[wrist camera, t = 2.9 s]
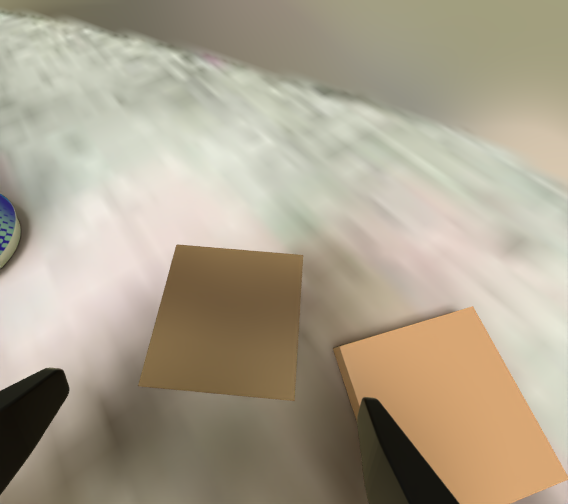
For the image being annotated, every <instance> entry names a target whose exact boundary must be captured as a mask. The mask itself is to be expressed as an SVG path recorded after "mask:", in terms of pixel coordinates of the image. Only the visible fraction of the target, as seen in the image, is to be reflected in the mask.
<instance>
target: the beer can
mask: <svg viewBox="0 0 568 504" xmlns="http://www.w3.org/2000/svg"><path fill="white" fill-rule="evenodd" d="M20 235H21V228H20V223H19V221H18V219H17V217H16V212H15V209H14V207H13V205H12V204H11V202H10V201H9V200H8V199H7V198H6V197H4V196H3V195H2V194H0V268H1V267H3V266H4V265H5V264H6V262H7V261H8V260H9V259H10V258H11V256H12V255H13V253H14V252H15V250H16V248H17V246H18V243H19V240H20Z"/></svg>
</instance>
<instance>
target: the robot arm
mask: <svg viewBox="0 0 568 504" xmlns="http://www.w3.org/2000/svg"><path fill="white" fill-rule="evenodd" d="M68 394H69V385H68V382H67V379H66V376H65V373H64V371H63V370H62V369H59V368H45V369H43V370H41V371H39V372H37V373H35V374H33V375H31V376H29V377H27V378H25V379H23V380H21V381H19V382H17V383H15V384H13V385H11V386H9V387H7V388H5V389H3V390H1V391H0V495H1V494H2V492H3V491H4V490H5V488H6V487H7V486H8V484H9V483H10V481H11V480H12V479H13V477H14V476H15V475H16V473H17V472H18V471H19V469H20V468H21V467H22V465H23V464H24V463H25V461H26V460H27V458H28V457H29V456H30V454H31V453H32V451H33V450H34V448H35V447H36V445H37V444H38V442H39V441H40V439H41V437H42V436H43V434H44V433H45V431H46V429H47V428H48V426H49V425H50V423H51V422H52V420H53V418H54V417H55V415H56V414H57V412H58V410H59V409H60V407H61V406H62V404H63V403H64V401H65V399H66V398H67V396H68ZM357 425H358V433H359V441H360V450H361V458H362V466H363V474H364V482H365V488H366V493H367V499H368V503H369V504H460V503H459V502H458V501H457V499H456V498H455V497H454V496H453V494H452V493H451V492H450V490H449V489H448V488H447V487H446V485H445V484H444V483H443V482H442V480H441V479H440V478H439V476H438V475H437V474H436V473H435V471H434V470H433V469H432V467H431V466H430V465H429V464H428V462H427V461H426V460H425V459H424V457H423V456H422V455H421V453H420V452H419V451H418V450H417V448H416V447H415V446H414V445H413V443H412V442H411V441H410V439H409V438H408V437H407V436H406V434H405V433H404V432H403V430H402V429H401V428H400V427H399V425H398V424H397V423H396V422H395V420H394V419H393V418H392V416H391V415H390V414H389V413H388V411H387V410H386V409H385V408H384V406H383V405H382V404H381V402H380V401H379V400H378V399H376V398H372V397H363V398H362V400H361V404H360V408H359V412H358V416H357Z"/></svg>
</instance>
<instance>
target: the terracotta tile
mask: <svg viewBox="0 0 568 504" xmlns="http://www.w3.org/2000/svg"><path fill="white" fill-rule="evenodd" d="M333 350H334V353H335V357H336V360H337V363H338V366H339V369H340V372H341V375H342V378H343V381H344V384H345V387H346V390H347V393H348V396H349V399H350V402H351V405H352V408H353V411H354V414H355V417H356V421H357V416H358V412H359V408H360V404H361V400H362V398H363V397H372V398H376V399H378V400H379V401H380V402H381V404H382V405H383V406H384V408H385V409H386V410H387V411H388V413H389V414H390V415H391V416H392V418H393V419H394V420H395V422H396V423H397V424H398V425H399V427H400V428H401V429H402V430H403V432H404V433H405V434H406V436H407V437H408V438H409V439H410V441H411V442H412V443H413V445H414V446H415V447H416V448H417V450H418V451H419V452H420V453H421V455H422V456H423V457H424V459H425V460H426V461H427V462H428V464H429V465H430V466H431V467H432V469H433V470H434V471H435V473H436V474H437V475H438V476H439V478H440V479H441V480H442V482H443V483H444V484H445V485H446V487H447V488H448V489H449V490H450V492H451V493H452V494H453V496H454V497H455V498H456V499H457V501H458V502H459V503H460V504H510V503H512V502H515V501H517V500H520V499H522V498H525V497H527V496H529V495H532V494H534V493H537V492H539V491H542V490H544V489H546V488H549V487H551V486H554V485H556V484H558V483H561V482H563V481H566V480H568V476H567V474H566V472H565V470H564V469H563V467H562V465H561V463H560V461H559V460H558V458H557V456H556V454H555V452H554V451H553V449H552V447H551V445H550V444H549V442H548V440H547V438H546V436H545V435H544V433H543V431H542V429H541V427H540V426H539V424H538V422H537V420H536V418H535V417H534V415H533V413H532V411H531V410H530V408H529V406H528V404H527V402H526V401H525V399H524V397H523V395H522V393H521V392H520V390H519V388H518V386H517V384H516V383H515V381H514V379H513V377H512V376H511V374H510V372H509V370H508V368H507V367H506V365H505V363H504V361H503V359H502V358H501V356H500V354H499V352H498V350H497V349H496V347H495V345H494V343H493V341H492V340H491V338H490V336H489V334H488V333H487V331H486V329H485V327H484V325H483V324H482V322H481V320H480V318H479V316H478V315H477V313H476V311H475V309H474V307H469V308H466V309H463V310H459V311H456V312H453V313H449V314H446V315H443V316H439V317H436V318H433V319H429V320H426V321H423V322H419V323H416V324H413V325H409V326H406V327H403V328H399V329H396V330H393V331H389V332H386V333H383V334H379V335H376V336H373V337H369V338H366V339H363V340H359V341H356V342H353V343H349V344H346V345H343V346H339V347H336V348H333Z"/></svg>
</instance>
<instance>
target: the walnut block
mask: <svg viewBox="0 0 568 504" xmlns="http://www.w3.org/2000/svg"><path fill="white" fill-rule="evenodd" d="M302 266H303V255H296V254H284V253H272V252H260V251H248V250H236V249H224V248H212V247H200V246H188V245H176V248H175V252H174V256H173V259H172V263H171V267H170V270H169V274H168V278H167V281H166V285H165V289H164V292H163V296H162V300H161V304H160V307H159V311H158V315H157V318H156V322H155V326H154V329H153V333H152V337H151V340H150V344H149V348H148V351H147V355H146V359H145V362H144V366H143V370H142V373H141V377H140V381H139V384H138V386H142V387H152V388H163V389H174V390H184V391H195V392H205V393H216V394H227V395H237V396H248V397H258V398H269V399H280V400H290V401H294V399H295V382H296V366H297V349H298V332H299V316H300V299H301V282H302Z"/></svg>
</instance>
